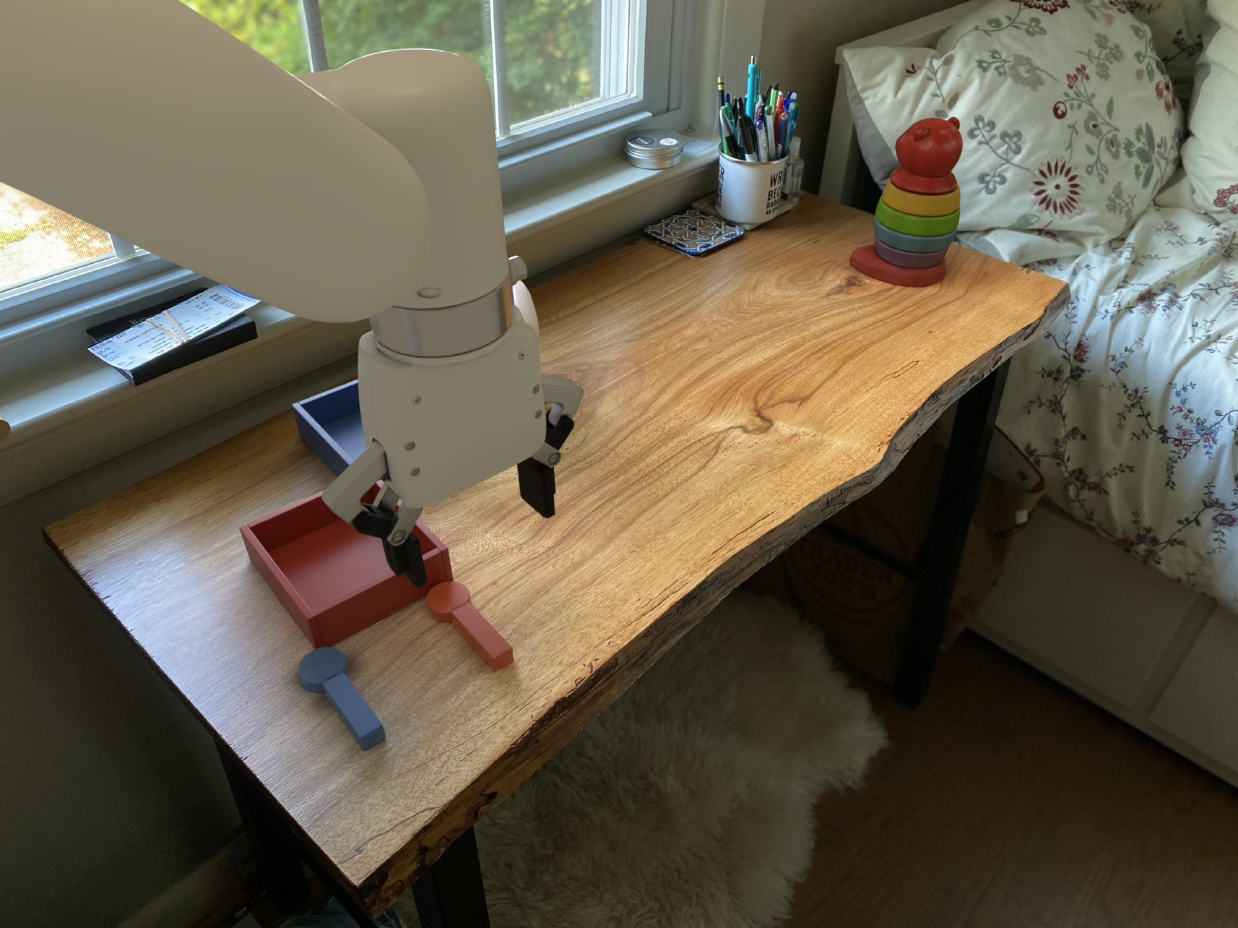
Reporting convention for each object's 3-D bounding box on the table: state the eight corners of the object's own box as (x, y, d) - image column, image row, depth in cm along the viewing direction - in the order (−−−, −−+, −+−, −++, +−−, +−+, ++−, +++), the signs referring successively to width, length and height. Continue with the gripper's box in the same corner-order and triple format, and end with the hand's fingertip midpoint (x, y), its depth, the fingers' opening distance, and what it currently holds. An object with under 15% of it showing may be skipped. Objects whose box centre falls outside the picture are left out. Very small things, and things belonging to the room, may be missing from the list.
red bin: (317, 653, 66) (307, 620, 64) (249, 560, 73) (238, 527, 71) (453, 581, 71) (448, 548, 69) (378, 501, 79) (371, 468, 77)
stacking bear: (912, 243, 118) (942, 98, 106) (968, 277, 110) (1006, 126, 99) (841, 260, 114) (865, 112, 103) (894, 296, 107) (926, 141, 96)
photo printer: (490, 377, 94) (478, 265, 86) (532, 372, 94) (524, 260, 87) (502, 437, 86) (491, 319, 78) (549, 431, 87) (542, 314, 79)
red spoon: (523, 655, 66) (522, 642, 65) (485, 678, 64) (483, 665, 63) (456, 584, 71) (454, 571, 70) (419, 603, 70) (417, 590, 69)
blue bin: (360, 502, 79) (353, 469, 77) (299, 435, 86) (291, 404, 84) (473, 450, 84) (469, 419, 82) (406, 392, 92) (401, 362, 90)
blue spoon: (397, 731, 61) (394, 718, 60) (352, 758, 59) (348, 745, 58) (335, 648, 66) (332, 635, 65) (293, 671, 65) (288, 658, 64)
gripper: (533, 235, 56) (550, 457, 67) (255, 333, 47) (327, 569, 58) (612, 280, 51) (617, 511, 62) (320, 397, 43) (384, 640, 54)
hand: (476, 539), depth 60 cm, fingers open, 9 cm apart
